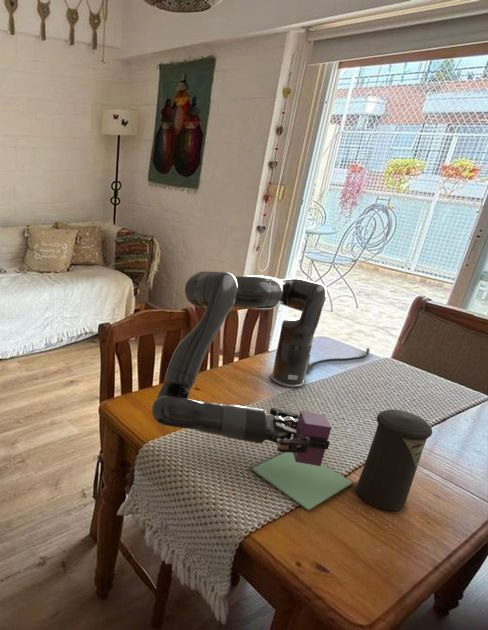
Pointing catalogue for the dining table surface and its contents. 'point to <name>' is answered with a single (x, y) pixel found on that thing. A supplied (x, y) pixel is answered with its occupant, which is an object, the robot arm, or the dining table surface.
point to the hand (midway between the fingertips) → (324, 436)
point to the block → (316, 428)
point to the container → (393, 459)
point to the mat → (302, 479)
